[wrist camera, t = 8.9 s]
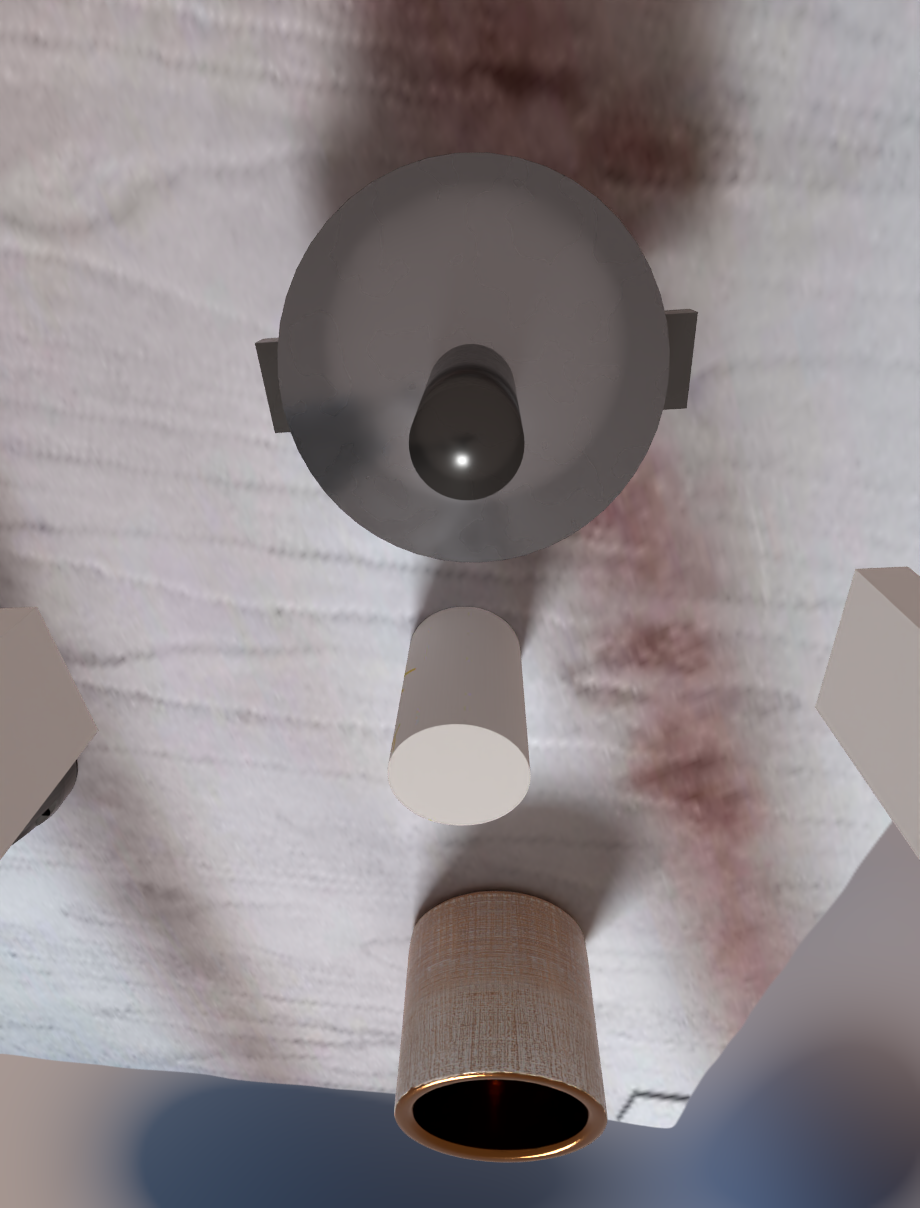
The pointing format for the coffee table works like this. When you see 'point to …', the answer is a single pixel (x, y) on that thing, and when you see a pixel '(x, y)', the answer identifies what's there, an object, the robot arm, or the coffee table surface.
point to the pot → (677, 388)
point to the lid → (473, 357)
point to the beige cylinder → (461, 720)
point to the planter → (499, 1032)
